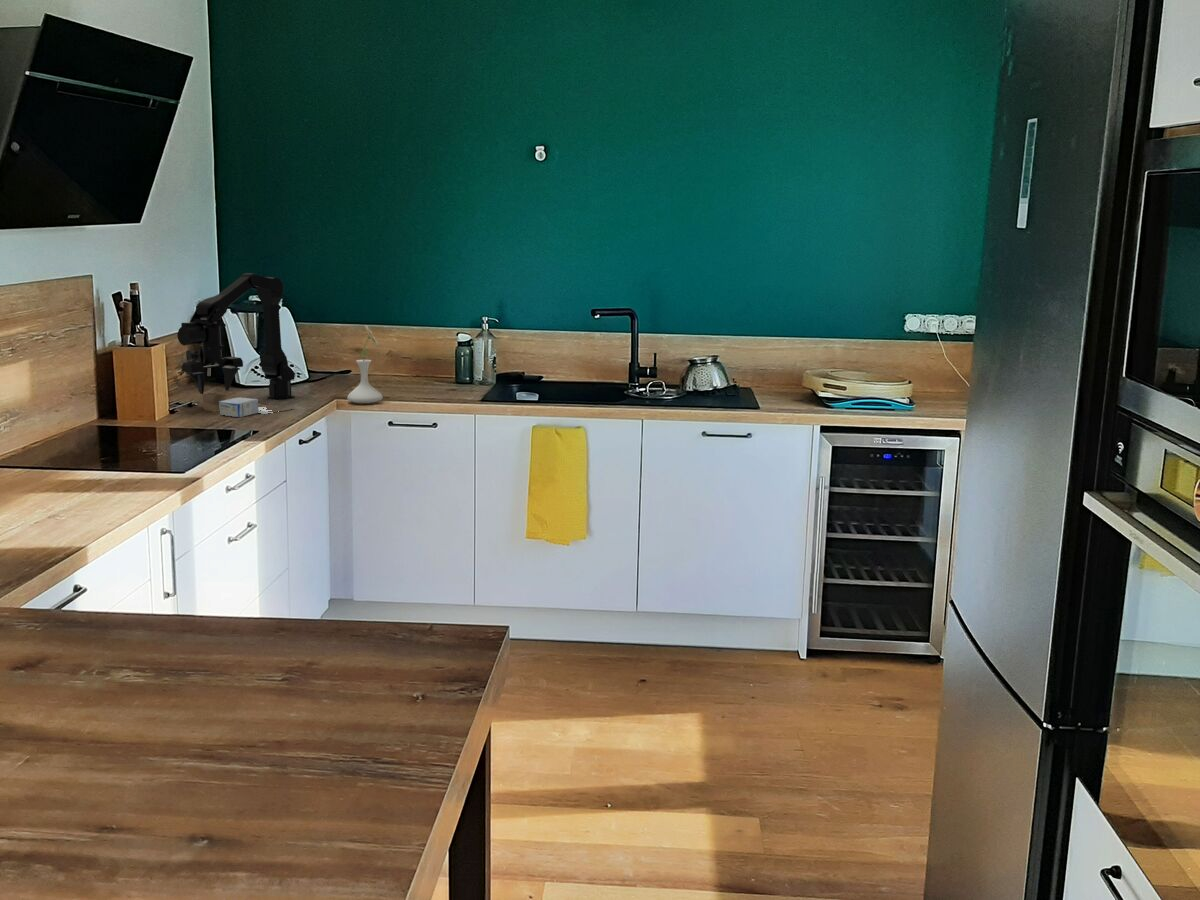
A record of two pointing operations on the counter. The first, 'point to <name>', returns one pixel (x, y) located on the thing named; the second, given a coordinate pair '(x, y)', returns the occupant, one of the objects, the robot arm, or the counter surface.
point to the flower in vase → (365, 379)
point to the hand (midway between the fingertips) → (214, 392)
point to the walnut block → (213, 400)
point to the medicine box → (238, 407)
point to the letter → (264, 410)
